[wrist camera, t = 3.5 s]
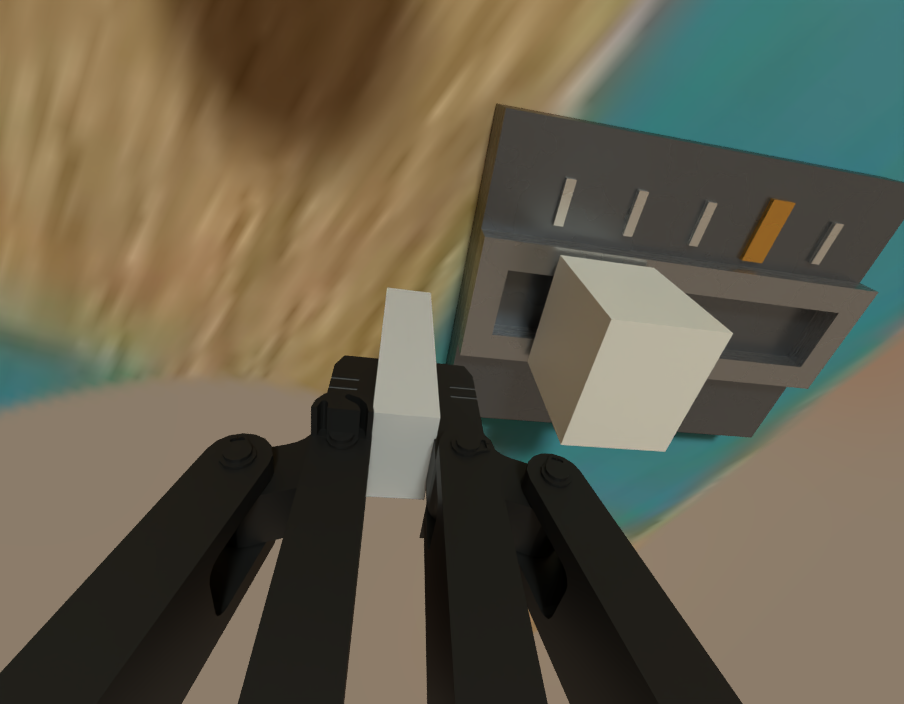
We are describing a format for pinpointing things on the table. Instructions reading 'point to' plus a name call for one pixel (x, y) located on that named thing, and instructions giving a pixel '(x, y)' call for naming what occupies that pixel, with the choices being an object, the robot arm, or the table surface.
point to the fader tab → (621, 354)
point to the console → (668, 254)
